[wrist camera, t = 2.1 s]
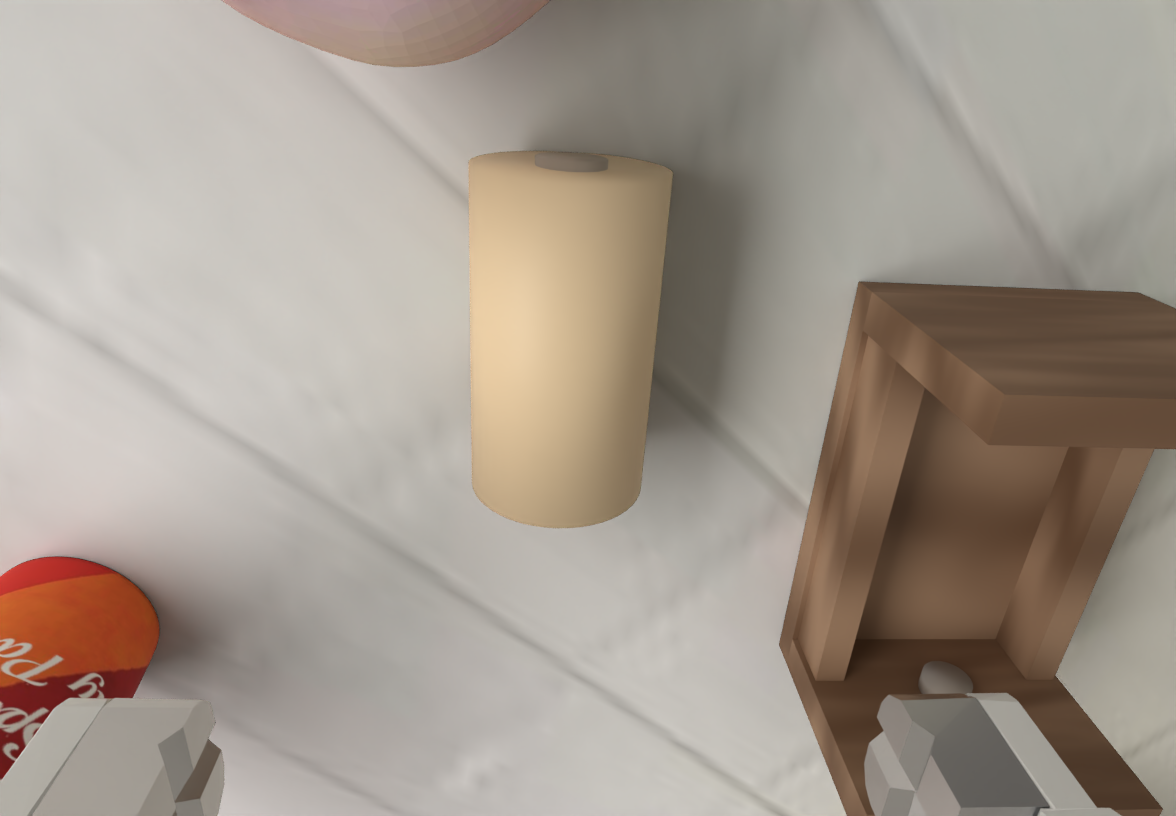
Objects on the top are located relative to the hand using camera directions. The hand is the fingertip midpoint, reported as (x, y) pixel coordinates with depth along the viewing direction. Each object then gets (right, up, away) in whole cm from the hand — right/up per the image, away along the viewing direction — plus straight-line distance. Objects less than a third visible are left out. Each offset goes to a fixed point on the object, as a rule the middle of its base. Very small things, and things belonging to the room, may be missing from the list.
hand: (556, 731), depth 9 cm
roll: (-1, +7, +13) cm, 15 cm away
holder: (+13, +1, +17) cm, 21 cm away
